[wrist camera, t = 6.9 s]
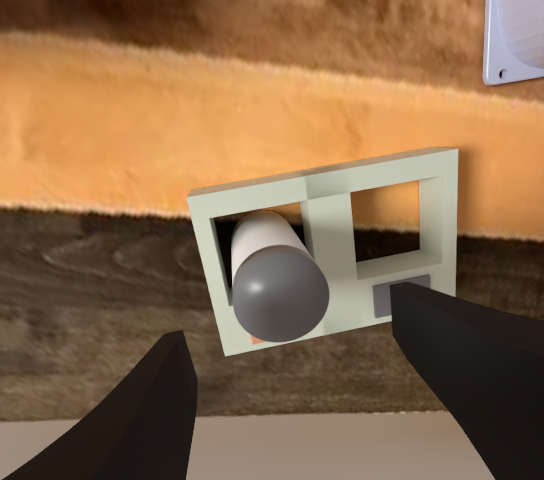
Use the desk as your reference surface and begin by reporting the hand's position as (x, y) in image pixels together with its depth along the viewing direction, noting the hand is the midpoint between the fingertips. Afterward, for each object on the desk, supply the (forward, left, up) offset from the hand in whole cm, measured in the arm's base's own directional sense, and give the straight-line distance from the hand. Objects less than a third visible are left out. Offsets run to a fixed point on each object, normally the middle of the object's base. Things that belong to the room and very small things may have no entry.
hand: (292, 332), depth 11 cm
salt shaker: (0, 0, -10) cm, 10 cm away
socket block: (-4, +1, -10) cm, 11 cm away
